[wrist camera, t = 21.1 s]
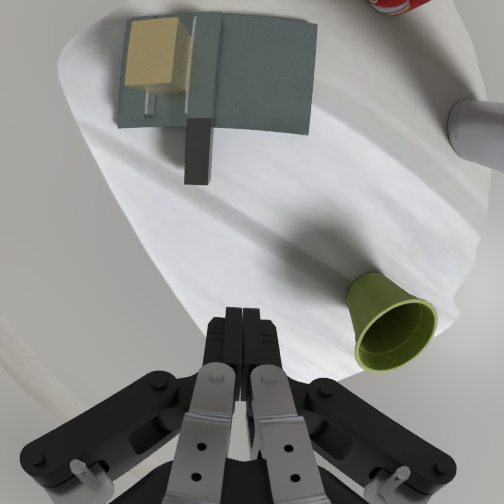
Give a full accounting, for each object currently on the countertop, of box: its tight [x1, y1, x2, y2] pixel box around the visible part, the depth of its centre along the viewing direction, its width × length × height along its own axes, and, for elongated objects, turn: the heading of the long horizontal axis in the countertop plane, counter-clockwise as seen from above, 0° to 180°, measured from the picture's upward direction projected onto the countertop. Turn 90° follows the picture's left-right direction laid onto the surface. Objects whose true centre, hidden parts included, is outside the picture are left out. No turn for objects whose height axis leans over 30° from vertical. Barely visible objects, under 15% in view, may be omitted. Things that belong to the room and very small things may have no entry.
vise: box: [118, 14, 318, 135], centre depth 27 cm, size 22×14×4 cm, turn 85°
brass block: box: [125, 17, 191, 94], centre depth 23 cm, size 4×6×10 cm, turn 175°
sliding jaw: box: [184, 12, 223, 185], centre depth 28 cm, size 3×19×3 cm, turn 175°
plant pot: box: [347, 273, 438, 373], centre depth 38 cm, size 12×12×11 cm
